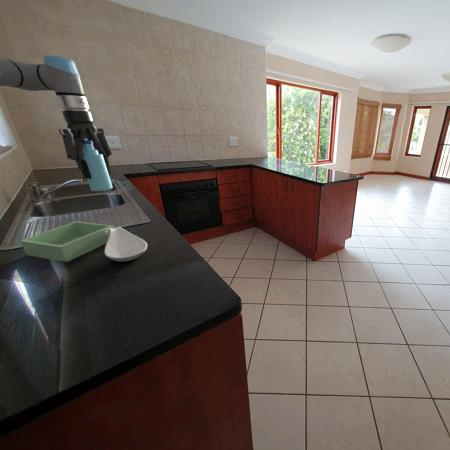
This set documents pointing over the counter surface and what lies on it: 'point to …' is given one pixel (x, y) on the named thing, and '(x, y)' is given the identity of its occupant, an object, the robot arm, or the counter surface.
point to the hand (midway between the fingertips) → (98, 176)
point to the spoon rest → (123, 245)
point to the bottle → (96, 168)
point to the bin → (67, 241)
